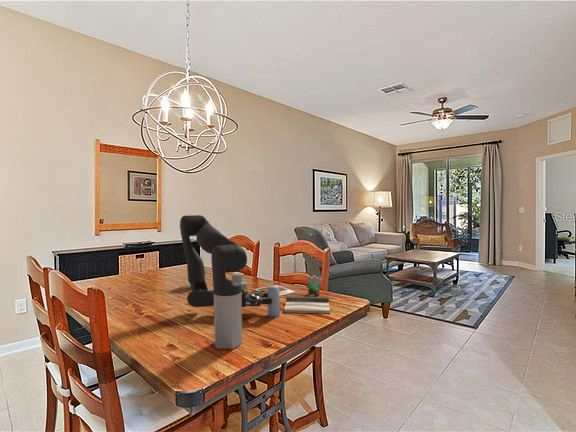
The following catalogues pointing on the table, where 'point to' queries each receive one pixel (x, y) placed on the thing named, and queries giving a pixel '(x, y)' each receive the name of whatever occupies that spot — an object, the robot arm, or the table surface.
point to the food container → (314, 285)
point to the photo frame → (281, 291)
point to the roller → (274, 301)
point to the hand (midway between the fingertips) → (273, 298)
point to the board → (307, 305)
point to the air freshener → (239, 279)
